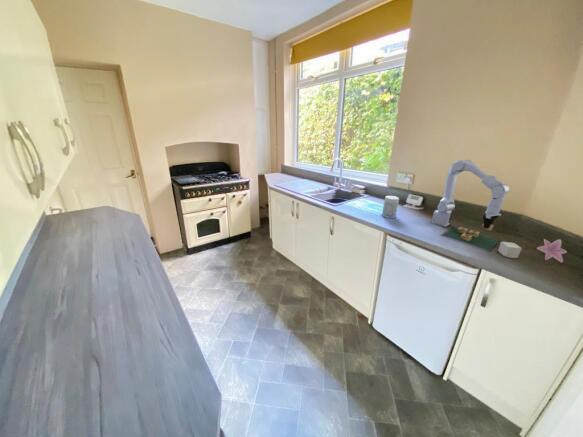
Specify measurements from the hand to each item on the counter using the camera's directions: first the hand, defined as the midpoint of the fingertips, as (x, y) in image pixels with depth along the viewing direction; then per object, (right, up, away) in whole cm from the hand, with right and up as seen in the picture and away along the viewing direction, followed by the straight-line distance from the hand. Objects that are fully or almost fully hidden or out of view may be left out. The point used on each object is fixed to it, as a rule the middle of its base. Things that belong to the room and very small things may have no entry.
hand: (487, 227), depth 139 cm
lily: (+19, -16, -16) cm, 29 cm away
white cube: (-1, -15, -14) cm, 20 cm away
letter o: (-11, -7, +2) cm, 14 cm away
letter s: (0, -1, 0) cm, 1 cm away
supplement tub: (-44, +7, +36) cm, 57 cm away
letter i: (-7, -4, +11) cm, 14 cm away
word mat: (-8, -7, +4) cm, 11 cm away
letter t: (-3, -5, +7) cm, 9 cm away
